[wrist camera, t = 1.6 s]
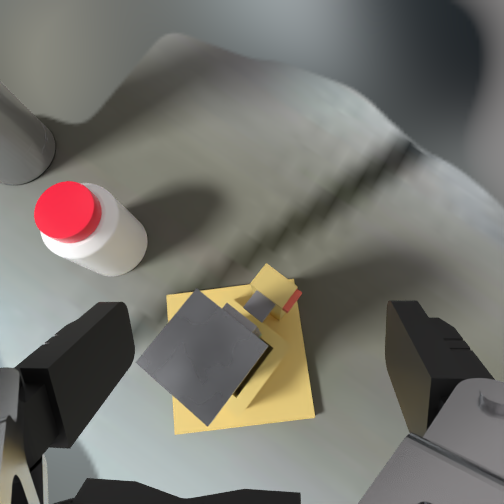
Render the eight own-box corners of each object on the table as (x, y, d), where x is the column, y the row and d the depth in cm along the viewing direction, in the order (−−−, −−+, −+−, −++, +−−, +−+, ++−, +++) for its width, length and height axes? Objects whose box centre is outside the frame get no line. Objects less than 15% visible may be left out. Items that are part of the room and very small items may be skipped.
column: (240, 389, 37) (207, 426, 18) (202, 357, 38) (135, 362, 19) (273, 344, 38) (274, 337, 19) (235, 314, 39) (202, 281, 20)
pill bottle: (80, 278, 42) (15, 253, 32) (85, 215, 44) (27, 172, 34) (146, 275, 42) (103, 248, 31) (149, 211, 44) (109, 167, 33)
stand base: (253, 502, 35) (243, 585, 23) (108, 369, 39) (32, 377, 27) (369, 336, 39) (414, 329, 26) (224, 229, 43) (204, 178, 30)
